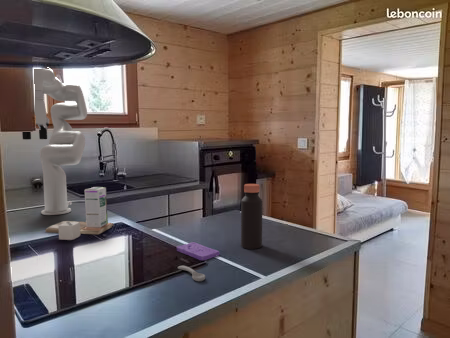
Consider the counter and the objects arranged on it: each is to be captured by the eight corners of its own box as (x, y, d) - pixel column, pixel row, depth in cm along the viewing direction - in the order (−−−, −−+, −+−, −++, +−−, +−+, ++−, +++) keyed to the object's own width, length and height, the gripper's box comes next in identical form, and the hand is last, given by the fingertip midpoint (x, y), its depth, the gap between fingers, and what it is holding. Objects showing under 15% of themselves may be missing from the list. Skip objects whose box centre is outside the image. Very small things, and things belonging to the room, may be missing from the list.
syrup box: (100, 227, 131) (99, 189, 130) (85, 227, 132) (84, 188, 131) (107, 224, 137) (106, 186, 135) (93, 223, 138) (92, 186, 136)
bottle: (256, 250, 109) (256, 186, 108) (237, 247, 113) (237, 185, 111) (265, 245, 115) (266, 184, 113) (247, 241, 119) (247, 182, 117)
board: (64, 224, 143) (64, 220, 143) (113, 226, 140) (113, 222, 140) (45, 232, 131) (45, 228, 131) (98, 234, 128) (98, 230, 128)
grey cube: (67, 235, 127) (66, 221, 127) (80, 236, 127) (79, 222, 126) (59, 239, 122) (58, 225, 122) (72, 240, 122) (71, 225, 121)
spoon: (197, 284, 86) (197, 276, 85) (175, 272, 95) (175, 265, 95) (208, 281, 87) (207, 273, 87) (185, 270, 97) (184, 262, 97)
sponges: (193, 247, 115) (193, 241, 115) (220, 256, 106) (220, 250, 106) (176, 252, 110) (175, 246, 110) (202, 262, 101) (202, 256, 101)
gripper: (39, 98, 149) (41, 139, 151) (8, 93, 132) (10, 139, 134) (55, 98, 148) (57, 139, 150) (26, 93, 131) (28, 139, 133)
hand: (35, 139), depth 142 cm, fingers open, 9 cm apart
